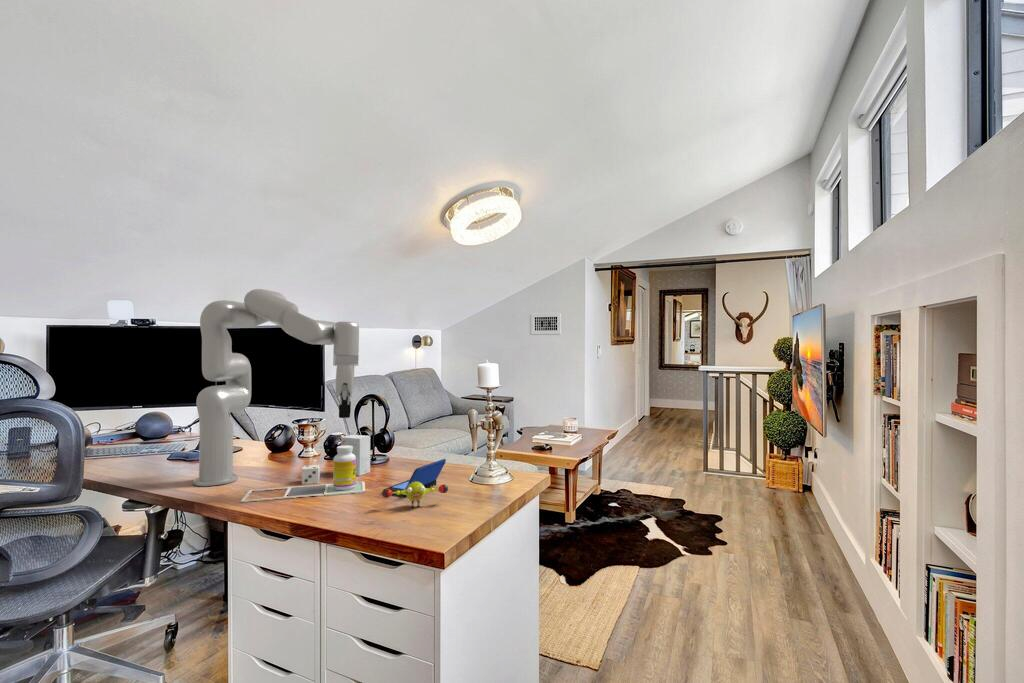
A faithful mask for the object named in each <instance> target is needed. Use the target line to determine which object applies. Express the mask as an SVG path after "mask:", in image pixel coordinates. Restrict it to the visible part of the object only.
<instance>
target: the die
mask: <svg viewBox="0 0 1024 683" xmlns="http://www.w3.org/2000/svg"><path fill="white" fill-rule="evenodd" d="M320 467H321V466H320V464H315V465H314V464H313V465H303V466H302V468H301V485H302V484H303V485H314V484H313V483H317V484H319V482H320V478H321V477H320V476H321V472H320V470H321V468H320Z"/></svg>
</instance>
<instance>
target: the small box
mask: <svg viewBox="0 0 1024 683" xmlns="http://www.w3.org/2000/svg"><path fill="white" fill-rule="evenodd" d="M344 445H350V446H353V450H352V454H354V455H355V456H356V476H358V477H360V476H363V475H366V474H369V473H371V435H362V434H350V435H345V436H342V437H341V436H340V446H344Z"/></svg>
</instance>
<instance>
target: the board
mask: <svg viewBox="0 0 1024 683" xmlns="http://www.w3.org/2000/svg"><path fill="white" fill-rule="evenodd" d="M291 488H292V489H291ZM274 489H286V492H284V493H285V494H284V495H283V496H278V497H266V498H265V497H264V498H254V499H253V498H252V499H248V498H249V497H250V495H251V494H252V493H253V492H252V491H261V492H263V491H262V490H273V491H275V490H274ZM324 489H325V490H324ZM251 492H252V493H251ZM363 492H365V493H366V484H365V481H356V485H355V487H354V488H353V489H349V490H335V489H334V488H333V483H325V484H308V485H298V486H297V485H295V486H286V487H271V488H270V487H269V488H260V489H259V488H258V489H249V490H248V491H247V492H246V494H245V495H244V496H243V497H242V498H241V500H240V503H241V502H244V501H257V500H269V499H281V500H283V499H282V498H294V499H297V498H296V497H306V498H310V497H309V496H318V497H325V496H324V495H330V496H340V495H339V494H342V495H351V493H354V494H364V493H363ZM250 493H251V494H250ZM323 493H324V494H323ZM249 494H250V495H249ZM287 495H288V496H287ZM247 497H248V498H247ZM246 498H247V499H246ZM245 499H246V500H245ZM269 501H270V500H269ZM257 502H258V501H257Z"/></svg>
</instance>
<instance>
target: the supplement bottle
mask: <svg viewBox="0 0 1024 683" xmlns="http://www.w3.org/2000/svg"><path fill="white" fill-rule="evenodd" d="M352 450H353V446H350V445H344V446H341V445H339V446H337V447H336V452H337V454H336V455H335V456H334V457H333V460H332V461H333V471H332V472H333V474H332V476H333V479H332V480H333V482H332V484H333V488H334V489H335V490H349V489H353V488H354V487H355V485H356V482H357V480H356V479H357V478H356V456H355V455H354V454H352Z"/></svg>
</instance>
